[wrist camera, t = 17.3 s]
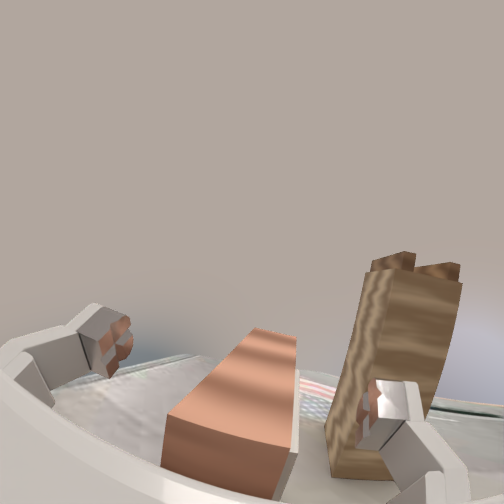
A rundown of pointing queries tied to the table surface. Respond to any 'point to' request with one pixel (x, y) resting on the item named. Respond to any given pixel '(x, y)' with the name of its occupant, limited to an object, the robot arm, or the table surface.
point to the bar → (237, 419)
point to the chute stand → (392, 349)
